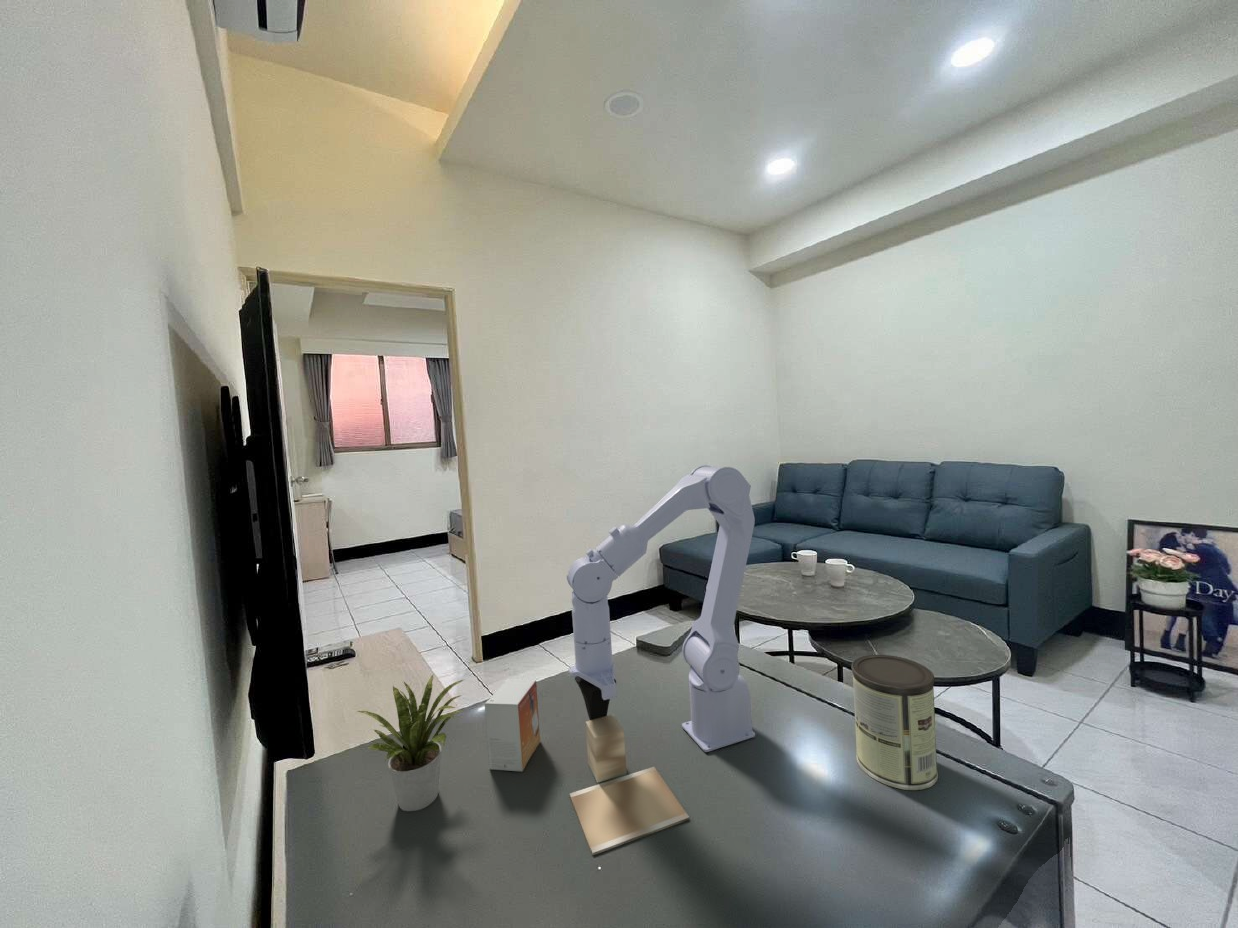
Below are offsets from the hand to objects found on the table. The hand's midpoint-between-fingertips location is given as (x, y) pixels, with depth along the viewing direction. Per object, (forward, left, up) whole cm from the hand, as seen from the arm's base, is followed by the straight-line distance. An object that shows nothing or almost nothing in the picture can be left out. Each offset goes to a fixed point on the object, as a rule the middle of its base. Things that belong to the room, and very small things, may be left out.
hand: (598, 722), depth 75 cm
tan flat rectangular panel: (0, +11, -6) cm, 13 cm away
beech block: (0, +3, -6) cm, 7 cm away
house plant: (+25, -3, -6) cm, 26 cm away
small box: (+12, -7, -6) cm, 15 cm away
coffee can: (-38, +20, -6) cm, 44 cm away
